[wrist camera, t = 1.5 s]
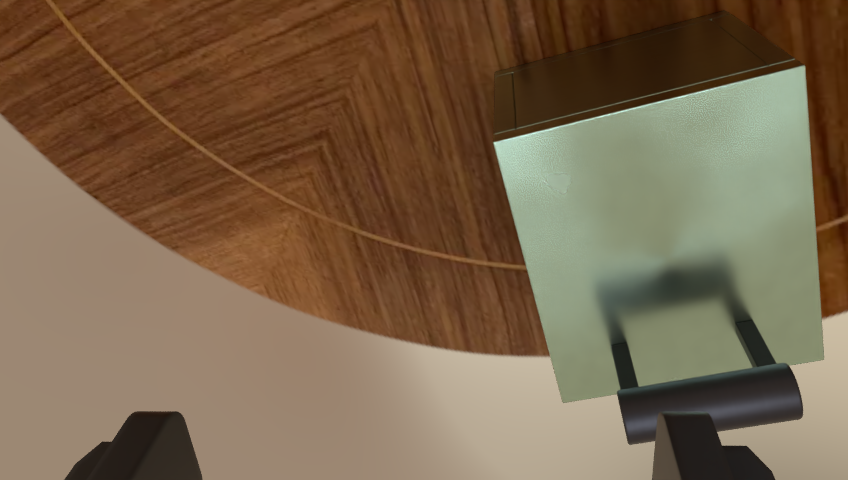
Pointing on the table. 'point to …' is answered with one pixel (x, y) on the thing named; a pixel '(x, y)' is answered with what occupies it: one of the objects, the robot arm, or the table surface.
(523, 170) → the lid
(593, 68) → the green storage bin
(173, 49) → the table surface
